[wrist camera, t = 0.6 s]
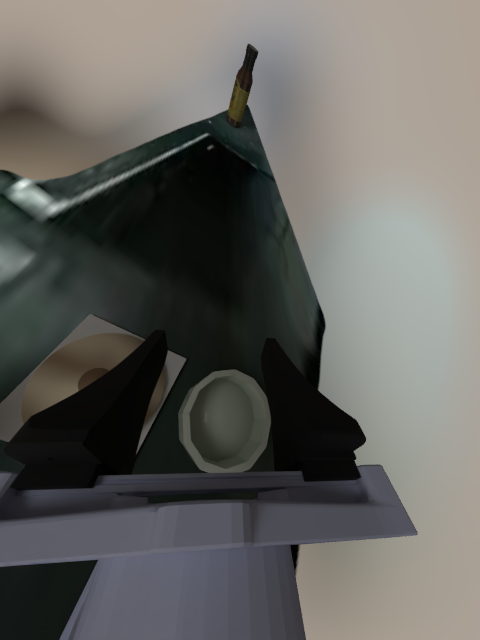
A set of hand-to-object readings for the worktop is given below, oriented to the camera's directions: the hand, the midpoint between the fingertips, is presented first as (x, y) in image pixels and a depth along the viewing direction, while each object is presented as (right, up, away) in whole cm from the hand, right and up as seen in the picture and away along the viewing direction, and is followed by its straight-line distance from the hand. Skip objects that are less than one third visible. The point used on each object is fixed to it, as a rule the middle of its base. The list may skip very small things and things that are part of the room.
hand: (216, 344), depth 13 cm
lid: (-16, -7, +10) cm, 20 cm away
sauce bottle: (-2, +87, +65) cm, 109 cm away
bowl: (-1, -13, +14) cm, 19 cm away
